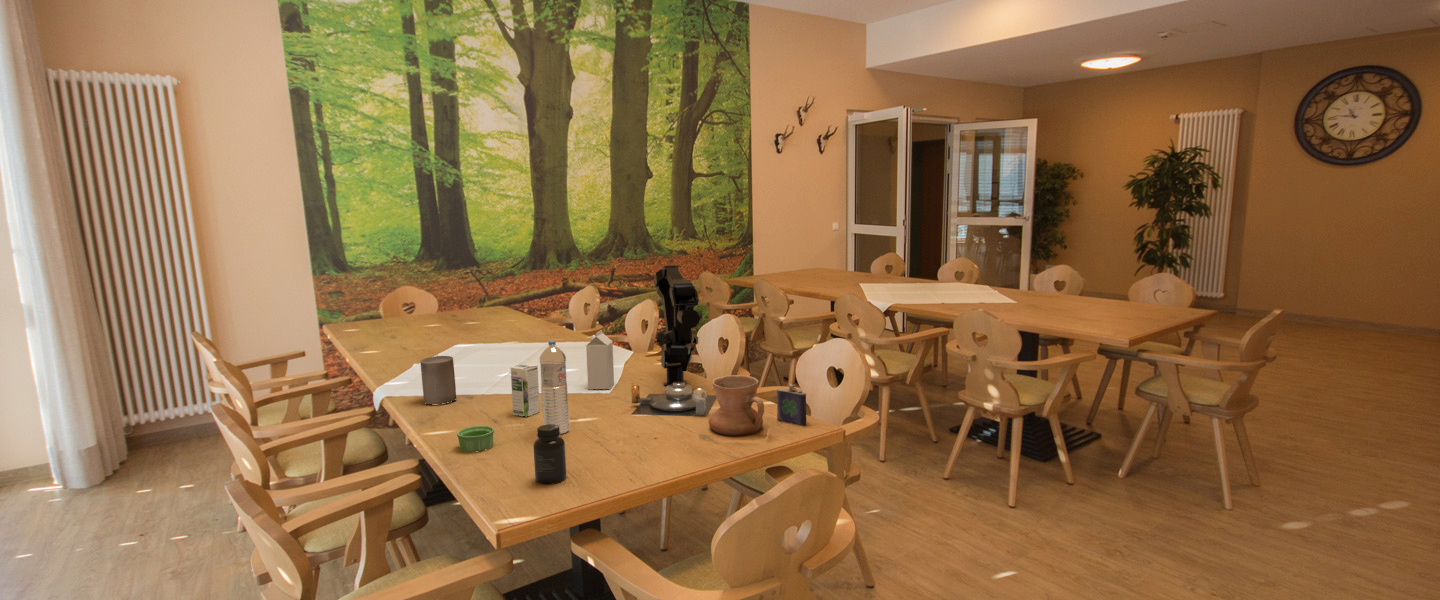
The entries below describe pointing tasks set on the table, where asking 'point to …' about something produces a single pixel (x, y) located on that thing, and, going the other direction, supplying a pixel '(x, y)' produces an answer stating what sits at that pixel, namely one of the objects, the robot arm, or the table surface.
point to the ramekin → (475, 438)
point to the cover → (678, 391)
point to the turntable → (662, 401)
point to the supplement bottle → (549, 455)
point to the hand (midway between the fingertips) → (684, 371)
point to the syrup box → (525, 389)
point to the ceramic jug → (736, 406)
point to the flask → (791, 406)
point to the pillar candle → (438, 379)
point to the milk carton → (600, 362)
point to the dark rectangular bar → (700, 400)
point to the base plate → (647, 410)
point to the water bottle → (554, 387)
